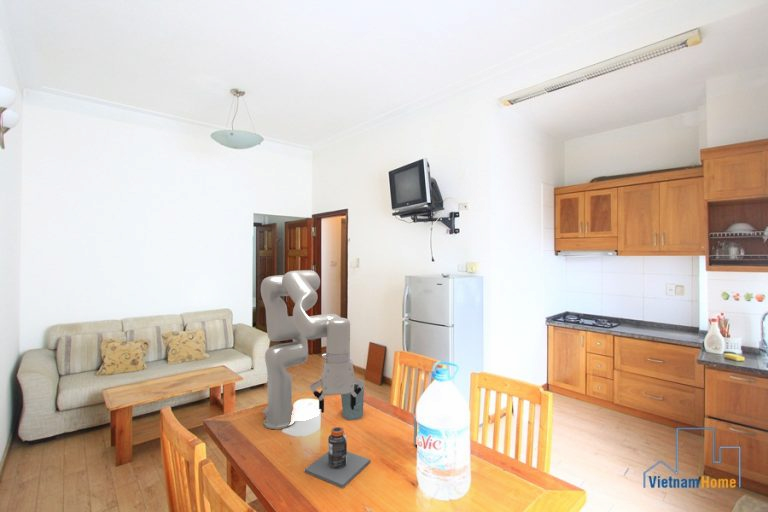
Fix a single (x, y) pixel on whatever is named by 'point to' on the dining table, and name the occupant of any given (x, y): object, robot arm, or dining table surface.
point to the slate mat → (338, 475)
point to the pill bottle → (337, 448)
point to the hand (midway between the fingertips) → (337, 409)
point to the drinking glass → (358, 409)
